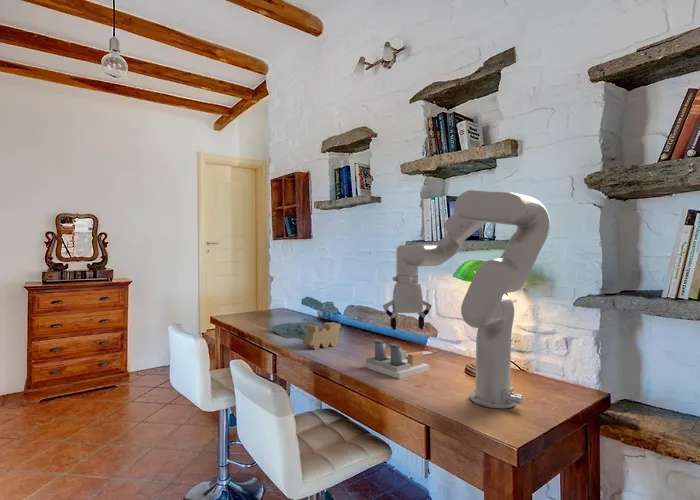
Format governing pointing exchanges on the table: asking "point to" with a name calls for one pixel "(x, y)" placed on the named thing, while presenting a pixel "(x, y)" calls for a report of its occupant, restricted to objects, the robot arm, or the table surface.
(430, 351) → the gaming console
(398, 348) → the peg
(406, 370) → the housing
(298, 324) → the terrain model
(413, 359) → the latch bar
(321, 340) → the toy train
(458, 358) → the table surface
